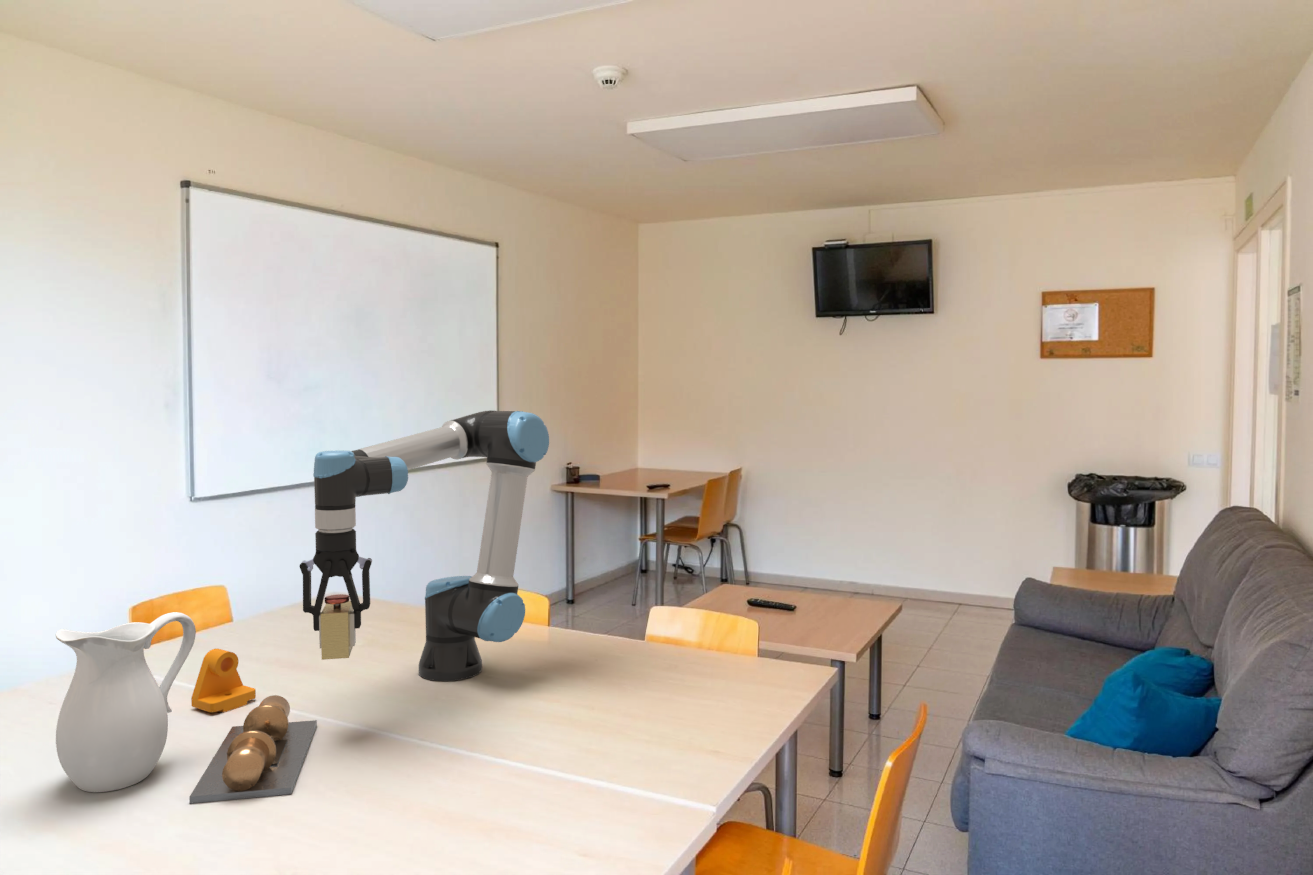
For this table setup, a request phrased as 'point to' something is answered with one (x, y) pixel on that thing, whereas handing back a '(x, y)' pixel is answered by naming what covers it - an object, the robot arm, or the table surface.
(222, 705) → the bracket
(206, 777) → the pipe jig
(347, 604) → the valve
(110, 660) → the pitcher
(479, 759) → the table surface
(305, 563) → the robot arm
